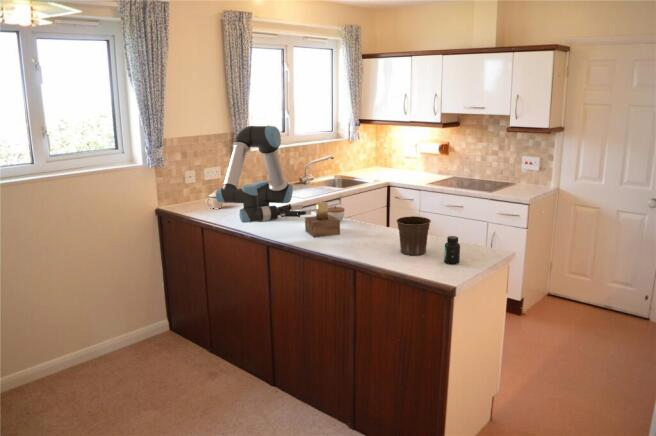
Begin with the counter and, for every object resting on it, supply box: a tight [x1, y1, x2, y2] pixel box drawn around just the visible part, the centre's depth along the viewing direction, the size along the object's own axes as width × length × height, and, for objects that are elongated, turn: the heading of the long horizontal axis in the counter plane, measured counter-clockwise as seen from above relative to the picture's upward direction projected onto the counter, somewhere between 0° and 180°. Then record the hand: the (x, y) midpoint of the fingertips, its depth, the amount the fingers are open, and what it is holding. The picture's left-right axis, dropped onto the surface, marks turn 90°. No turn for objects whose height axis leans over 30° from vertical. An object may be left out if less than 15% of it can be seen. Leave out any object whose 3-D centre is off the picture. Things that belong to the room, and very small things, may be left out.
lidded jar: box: [328, 205, 345, 223], centre depth 324 cm, size 11×11×9 cm
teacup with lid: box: [205, 190, 223, 209], centre depth 365 cm, size 12×9×12 cm
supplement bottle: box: [443, 235, 461, 266], centre depth 245 cm, size 7×7×12 cm
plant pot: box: [396, 216, 432, 257], centre depth 260 cm, size 16×16×16 cm
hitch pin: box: [315, 201, 329, 220], centre depth 298 cm, size 6×6×16 cm
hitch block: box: [304, 215, 341, 238], centre depth 299 cm, size 15×15×8 cm
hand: (306, 209), depth 294 cm, fingers open, 13 cm apart
